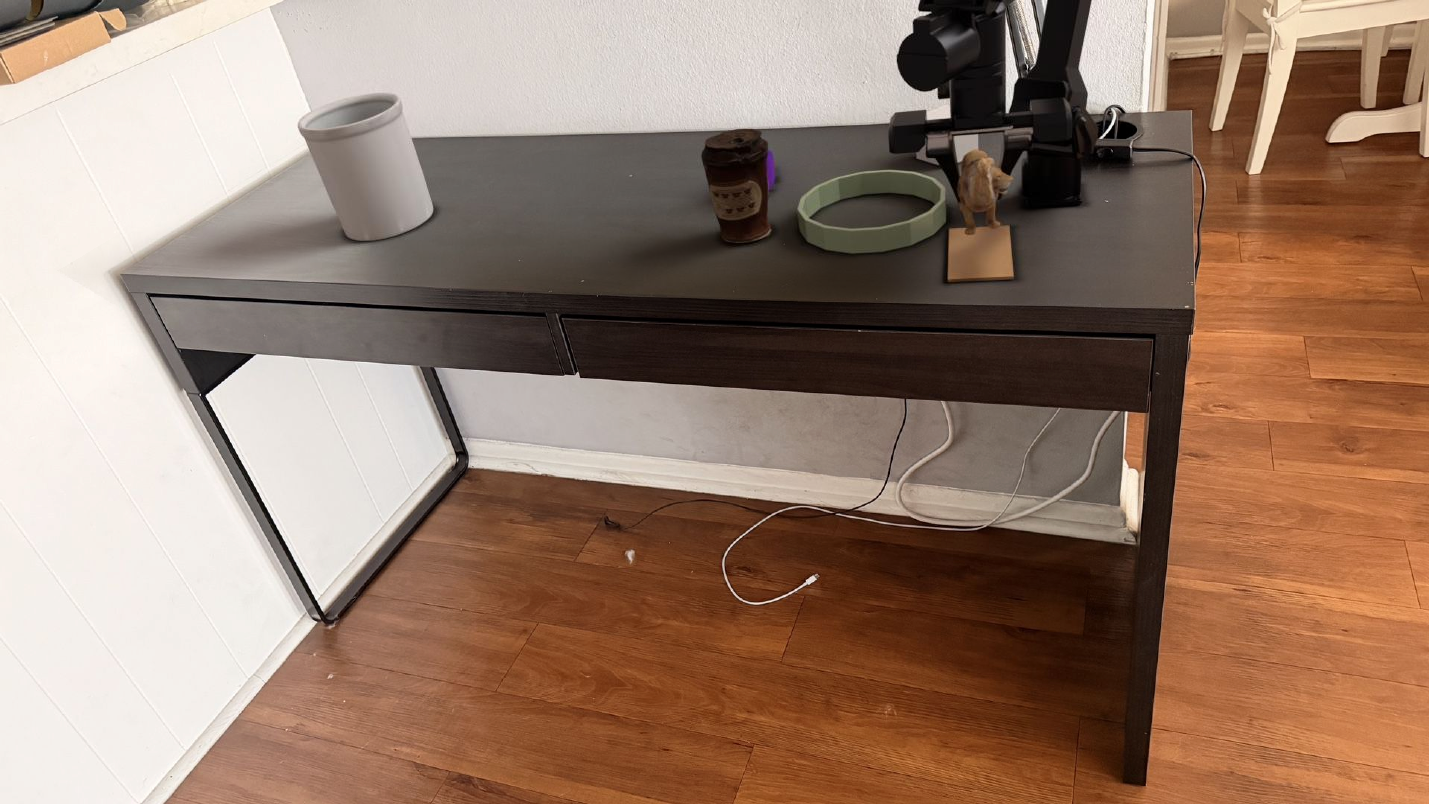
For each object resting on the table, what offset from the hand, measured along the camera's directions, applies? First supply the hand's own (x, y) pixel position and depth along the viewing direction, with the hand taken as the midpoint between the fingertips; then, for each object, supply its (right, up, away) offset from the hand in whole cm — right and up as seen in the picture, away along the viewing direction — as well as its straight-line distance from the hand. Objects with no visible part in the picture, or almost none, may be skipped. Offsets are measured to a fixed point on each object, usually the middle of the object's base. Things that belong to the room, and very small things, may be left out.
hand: (979, 200), depth 114 cm
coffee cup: (-25, -1, +18) cm, 31 cm away
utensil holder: (-79, +5, +42) cm, 90 cm away
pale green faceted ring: (-10, 0, +16) cm, 18 cm away
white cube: (+3, +12, +29) cm, 32 cm away
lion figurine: (+1, -2, +1) cm, 2 cm away
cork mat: (+1, -6, +4) cm, 7 cm away
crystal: (-23, +9, +32) cm, 40 cm away
